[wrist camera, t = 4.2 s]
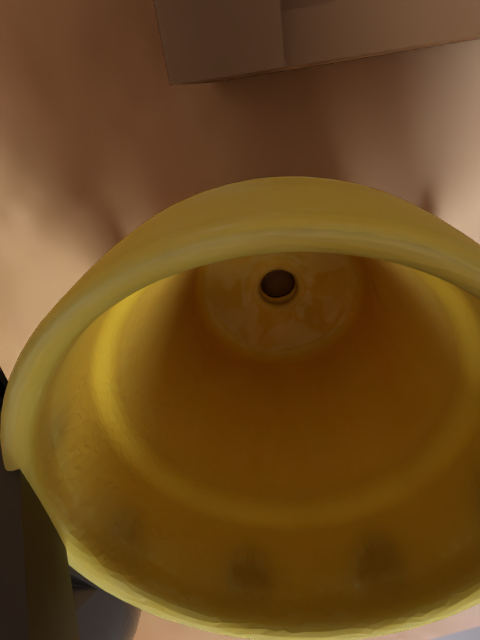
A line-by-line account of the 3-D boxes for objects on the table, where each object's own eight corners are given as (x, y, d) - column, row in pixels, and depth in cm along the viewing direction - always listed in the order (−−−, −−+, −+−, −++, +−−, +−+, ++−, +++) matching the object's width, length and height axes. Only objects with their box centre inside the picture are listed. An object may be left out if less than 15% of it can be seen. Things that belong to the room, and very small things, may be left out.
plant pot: (137, 112, 13) (-97, 171, 5) (461, 149, 13) (809, 275, 5) (143, 371, 18) (38, 620, 10) (375, 398, 18) (467, 669, 10)
